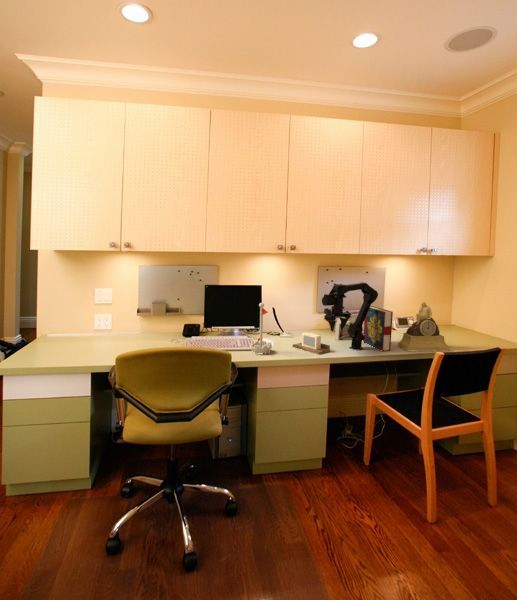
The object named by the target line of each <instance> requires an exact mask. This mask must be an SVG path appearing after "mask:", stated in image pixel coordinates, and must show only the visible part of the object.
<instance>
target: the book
mask: <svg viewBox="0 0 517 600" xmlns="http://www.w3.org/2000/svg"><path fill="white" fill-rule="evenodd" d="M393 315H394V312H393V311H391V310H387V309H385V308H381V307H376V306H373V305H371V306H370V308H369V310H368V313H367V315H366V318H365V320H364V322H363V335H364V336H365V339H364V340H362V343H363V342H364V343H363V344H365V343H367V344H369V345H371V346H370V347H372V346H373V347H372V348H374V347H375V348H374V349H376V348H377V349H376V350H378V349H379V350H378V351H380V350H382V351H381V352H384V351H388V350H390V351H391V345H392V332H393V331H392V328H393ZM367 344H366V345H367ZM369 345H368V346H369Z"/></svg>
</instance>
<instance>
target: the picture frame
mask: <svg viewBox="0 0 517 600" xmlns="http://www.w3.org/2000/svg"><path fill="white" fill-rule="evenodd" d="M321 342H322V335H320V334H319V335H318V334H316V333H311V332H302V334H301V343H302V346H305V347H309V348H313V349H320V348H321Z"/></svg>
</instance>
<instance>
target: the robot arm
mask: <svg viewBox="0 0 517 600" xmlns="http://www.w3.org/2000/svg"><path fill="white" fill-rule="evenodd" d="M351 291H361V293H362V294H363V295H362V299H363V303H362V305H361V307H360V308H359V311H358V313H357V316H356V318H355V321H353V324H350V326H349V328H348V334H349V336H348V337H349V338H350V339H351V345H350V347H349V349H351V348H353V349H352V350H355V349H360V350H363V349H362V348H363V347H362V345H363V340H364V339H365V336H364V333H363V332H364V327H363V326H364V320H365V318H366V315H367V313H368V310H369V308H370V306H372V304H373V303H374V302H376V300H377V298H378V297H379V293H378V291H377V290H376V289H374V288H373V287H371V286H370V285H369V284H368V283H367V282H364V281H362V282H361V281H360V282H357V283H349V284H341V283H340V284H338V283H334V285H333V286H332V288H331V290H330V291H329V293H328V294H326V293H325V294H323V296H322V299H321V303H322V306H324V307H325V306H326V308H324V309H323V313H324V318H323V320H325V321H326V322H328V325H329V329H330V331H331V332H334V331H335V328H336V323H337V319H339V318H340V320H341V329H343V328H344V326H345V324H346V323H347V321H350V318H351V317H352V316H351V315H352V314H351V313H349V312H345V311H344V310H345V306H344V298H345V299H346V298H347V295H346V293H348V292H351ZM327 306H328V307H329V306H331V308H328V307H327Z"/></svg>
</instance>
